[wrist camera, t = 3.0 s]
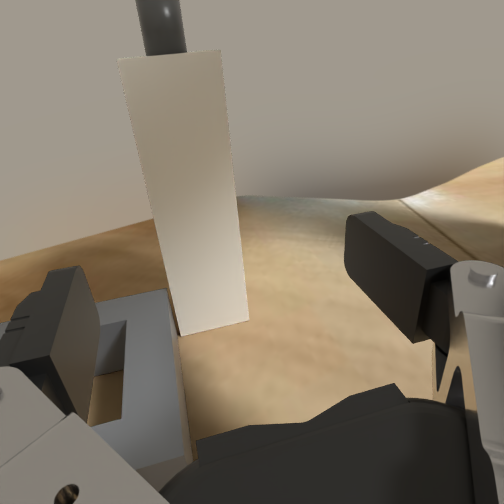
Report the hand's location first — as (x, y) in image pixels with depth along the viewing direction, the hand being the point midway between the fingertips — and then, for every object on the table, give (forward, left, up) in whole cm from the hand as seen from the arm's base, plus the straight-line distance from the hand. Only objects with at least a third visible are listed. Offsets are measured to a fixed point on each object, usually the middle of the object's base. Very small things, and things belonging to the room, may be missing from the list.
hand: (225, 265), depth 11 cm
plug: (-4, -11, -10) cm, 16 cm away
